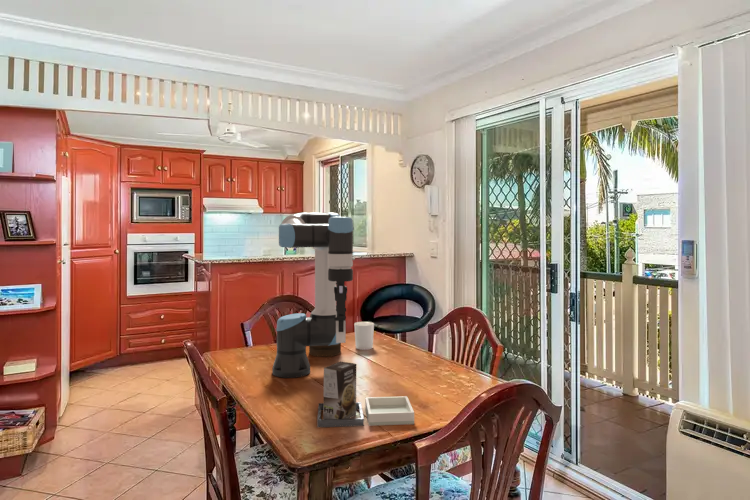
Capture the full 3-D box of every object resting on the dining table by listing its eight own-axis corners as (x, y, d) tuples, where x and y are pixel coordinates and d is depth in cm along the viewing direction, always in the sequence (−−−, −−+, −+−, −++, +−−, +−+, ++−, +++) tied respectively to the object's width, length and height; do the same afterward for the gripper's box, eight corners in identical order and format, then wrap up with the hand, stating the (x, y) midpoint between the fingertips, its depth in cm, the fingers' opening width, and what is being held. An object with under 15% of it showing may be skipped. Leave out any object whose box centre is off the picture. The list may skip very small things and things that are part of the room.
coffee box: (339, 424, 136) (339, 370, 135) (322, 420, 139) (322, 367, 139) (357, 414, 144) (357, 363, 143) (340, 410, 147) (340, 360, 146)
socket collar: (317, 427, 134) (317, 420, 134) (318, 409, 148) (318, 403, 147) (363, 425, 135) (363, 419, 135) (361, 408, 149) (361, 402, 149)
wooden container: (345, 355, 214) (345, 307, 213) (313, 358, 208) (313, 309, 207) (335, 347, 227) (335, 303, 226) (305, 350, 221) (305, 305, 221)
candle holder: (373, 350, 222) (374, 325, 222) (353, 350, 222) (353, 325, 222) (374, 345, 232) (374, 321, 232) (354, 345, 232) (354, 321, 232)
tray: (368, 425, 135) (368, 413, 135) (365, 408, 149) (365, 397, 149) (414, 424, 137) (414, 412, 136) (407, 406, 150) (407, 396, 150)
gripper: (354, 271, 128) (354, 347, 128) (351, 265, 153) (351, 328, 153) (327, 271, 127) (327, 347, 128) (328, 265, 152) (328, 329, 153)
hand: (340, 337), depth 141 cm, fingers open, 13 cm apart
